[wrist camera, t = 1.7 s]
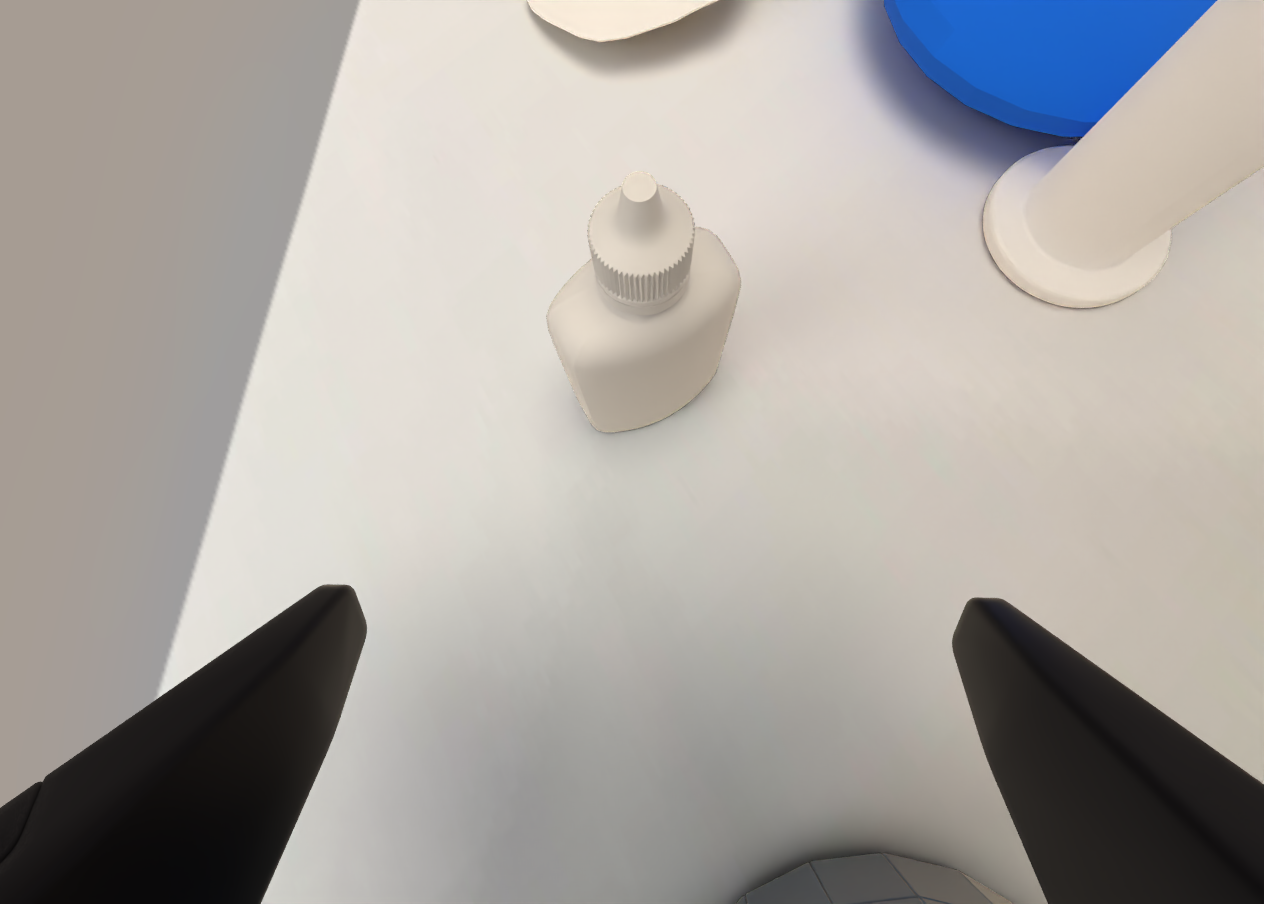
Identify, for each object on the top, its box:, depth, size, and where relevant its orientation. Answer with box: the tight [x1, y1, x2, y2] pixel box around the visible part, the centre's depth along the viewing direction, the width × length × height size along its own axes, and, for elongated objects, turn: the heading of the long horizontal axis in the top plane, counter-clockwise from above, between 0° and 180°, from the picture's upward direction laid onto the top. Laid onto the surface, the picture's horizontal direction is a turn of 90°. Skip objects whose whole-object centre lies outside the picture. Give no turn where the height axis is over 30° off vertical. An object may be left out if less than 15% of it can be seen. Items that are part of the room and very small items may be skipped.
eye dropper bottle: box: [546, 171, 741, 433], centre depth 17 cm, size 4×6×12 cm
